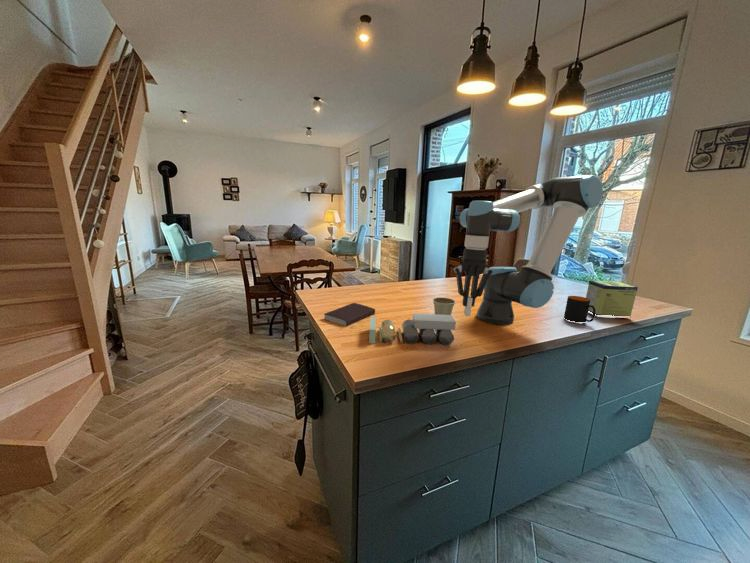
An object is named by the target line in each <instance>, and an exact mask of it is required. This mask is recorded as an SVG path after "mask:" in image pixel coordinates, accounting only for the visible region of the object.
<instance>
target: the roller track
mask: <svg viewBox="0 0 750 563" xmlns="http://www.w3.org/2000/svg"><path fill="white" fill-rule="evenodd" d="M401 327H402V328H400V327H398V328H397V332H398V339H399V344H400V345H402V344H404V342H403V338H404V340H405V342H407V343H408V344H410V345H411V344H416V343H417V342H418V341H419V339H420V337H421V339H422V343H424V344H426V345H432V344H434V343H435V342H436V341H437V338H438V340H439V342H440V343H441V344H442V345H444V346H445V345H446V346H448V345H450V344H452V343H453V342H454V340H455V337H454V333H453V332H452V330H441V329H416V328H414V325H413V322H412V319H406V320H404V321H403V322H402V324H401ZM401 329H402V331H401ZM378 331H379V334H378V335H379V344H382V343H383V340H382V333H381V327H379V330H378ZM402 333H403V335H402Z"/></svg>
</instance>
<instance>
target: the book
mask: <svg viewBox="0 0 750 563" xmlns="http://www.w3.org/2000/svg"><path fill="white" fill-rule="evenodd" d="M375 314H376V309H375V308H372V307H370V306H367V305H363V304H360V303H357V302H353V303H350V304H346V305H344V306H342V307H339V308H337V309H334V310H331V311H329V312H325V313H324V314H323V315H324V319H325V321H328V320H329V322H332V323H335V324H338V325H341V326H345V327H349V326H351V325H354V324H356V323H358V322H361V321H362V320H365V319H367V318H369V317H372V316H374V315H375ZM371 315H372V316H371ZM324 319H323V320H324Z"/></svg>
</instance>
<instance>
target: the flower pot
mask: <svg viewBox="0 0 750 563" xmlns="http://www.w3.org/2000/svg"><path fill="white" fill-rule="evenodd" d="M432 302H433V306H434V309H433V310H434V314H438V315H451V316H452V312H453V308H454V306H455V304H456V300H455V299H452V298H449V297H441V296H440V297H434V298H432Z"/></svg>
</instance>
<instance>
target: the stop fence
mask: <svg viewBox="0 0 750 563" xmlns="http://www.w3.org/2000/svg"><path fill="white" fill-rule="evenodd" d="M369 317H370V318H369V338H368V343H369V344H376V329H377V328H376V327H377V323H376V321H377V319H376V317H375V316H369Z"/></svg>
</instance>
